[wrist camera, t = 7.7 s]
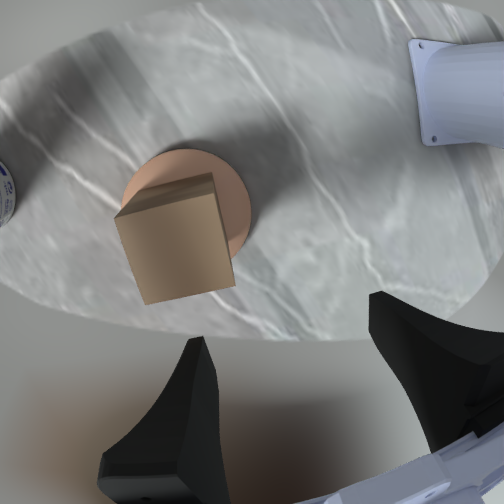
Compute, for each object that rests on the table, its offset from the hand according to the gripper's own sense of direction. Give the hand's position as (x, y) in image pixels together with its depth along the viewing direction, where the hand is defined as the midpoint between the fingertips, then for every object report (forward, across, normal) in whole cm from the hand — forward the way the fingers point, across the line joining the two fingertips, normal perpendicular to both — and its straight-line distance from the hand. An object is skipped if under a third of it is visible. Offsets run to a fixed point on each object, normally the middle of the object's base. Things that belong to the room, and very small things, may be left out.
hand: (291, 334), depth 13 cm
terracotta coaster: (+9, +4, -4) cm, 11 cm away
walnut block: (+8, +4, -4) cm, 10 cm away
